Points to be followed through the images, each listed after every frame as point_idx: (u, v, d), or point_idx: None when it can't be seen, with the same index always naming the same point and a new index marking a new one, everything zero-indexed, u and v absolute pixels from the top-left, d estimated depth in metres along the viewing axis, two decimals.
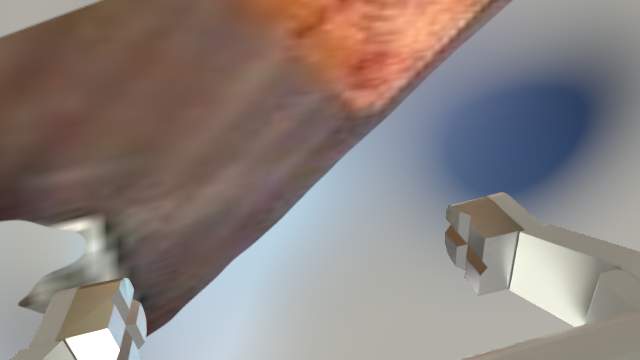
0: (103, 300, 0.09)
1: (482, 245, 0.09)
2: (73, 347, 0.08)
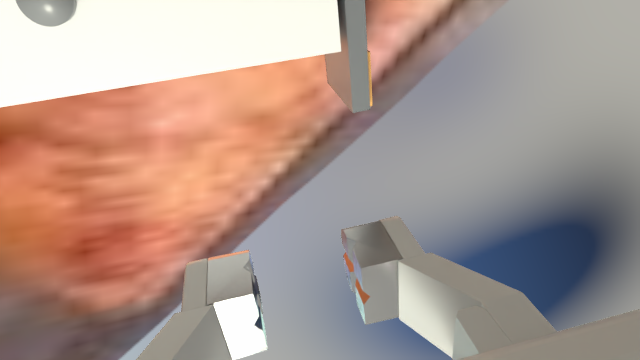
0: (238, 269, 0.09)
1: (360, 274, 0.09)
2: (220, 312, 0.08)
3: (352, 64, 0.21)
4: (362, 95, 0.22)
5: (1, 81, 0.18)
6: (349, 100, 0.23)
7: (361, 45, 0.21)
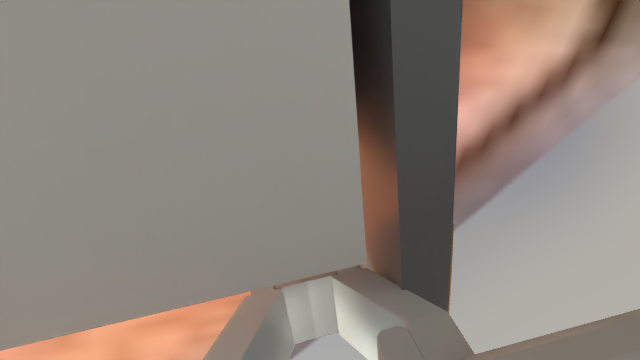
0: None
1: (294, 290, 0.09)
2: (287, 296, 0.09)
3: (409, 269, 0.08)
4: None
5: None
6: None
7: (437, 225, 0.07)
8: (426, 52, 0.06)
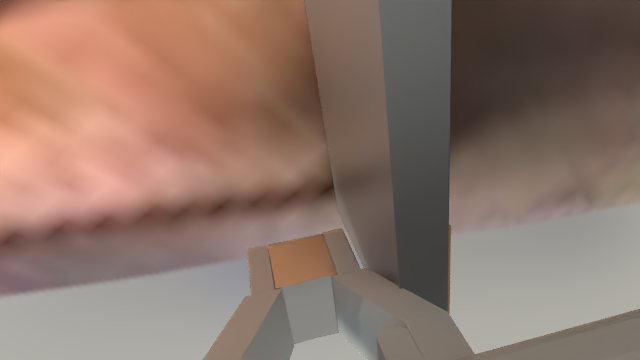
0: (300, 255, 0.09)
1: (294, 290, 0.09)
2: (287, 295, 0.09)
3: (407, 271, 0.08)
4: None
5: None
6: None
7: (433, 228, 0.07)
8: (417, 60, 0.06)
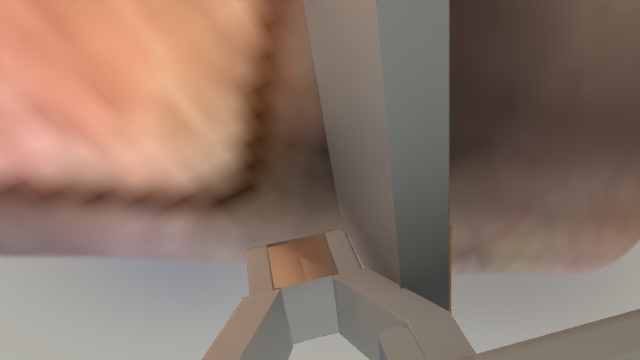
0: (299, 255, 0.09)
1: (295, 290, 0.09)
2: (286, 296, 0.09)
3: (407, 272, 0.08)
4: None
5: None
6: None
7: (433, 229, 0.07)
8: (415, 63, 0.06)
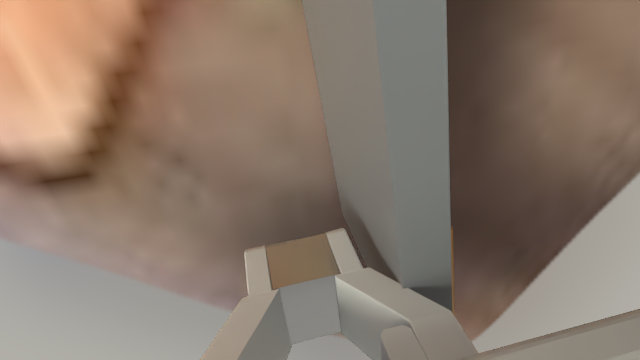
0: (298, 256, 0.09)
1: (297, 289, 0.09)
2: (285, 296, 0.09)
3: (410, 275, 0.08)
4: None
5: None
6: None
7: (435, 232, 0.07)
8: (413, 67, 0.06)
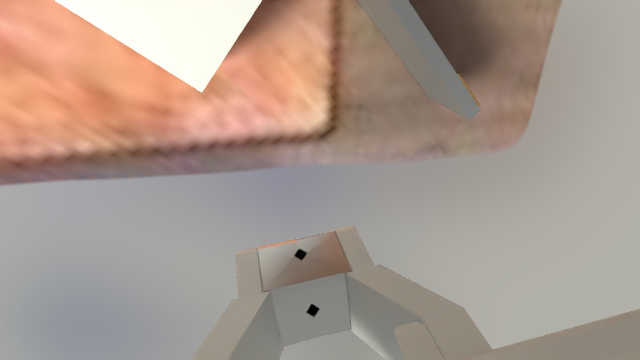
0: (289, 257, 0.09)
1: (308, 287, 0.09)
2: (276, 298, 0.09)
3: (452, 91, 0.27)
4: (470, 105, 0.28)
5: None
6: (461, 112, 0.29)
7: (452, 76, 0.27)
8: (425, 41, 0.25)
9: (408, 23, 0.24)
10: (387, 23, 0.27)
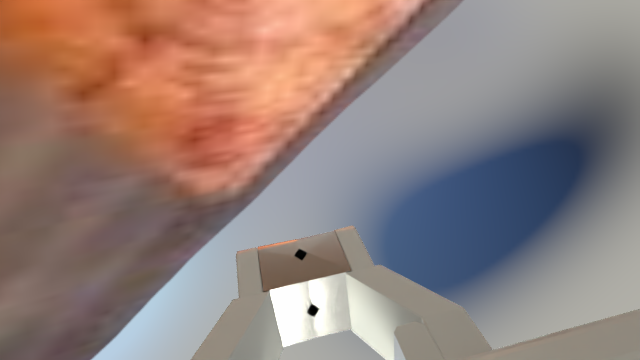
0: (289, 258, 0.09)
1: (308, 287, 0.09)
2: (276, 298, 0.09)
3: None
4: None
5: None
6: None
7: None
8: None
9: None
10: None
